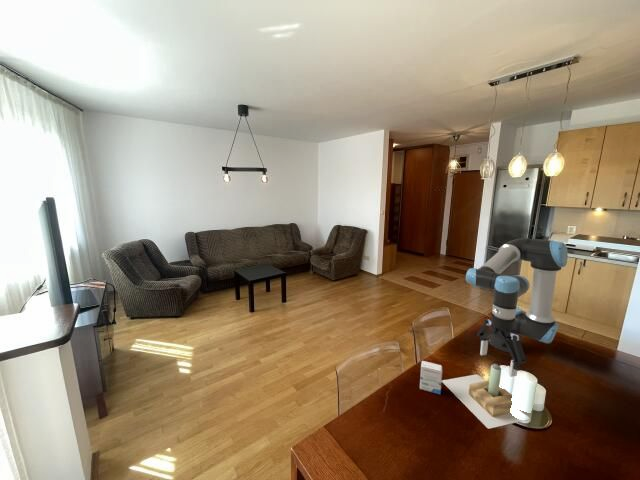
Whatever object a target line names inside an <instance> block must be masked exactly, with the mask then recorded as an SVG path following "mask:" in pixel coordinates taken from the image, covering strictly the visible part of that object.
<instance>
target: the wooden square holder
mask: <svg viewBox="0 0 640 480" xmlns="http://www.w3.org/2000/svg"><path fill="white" fill-rule="evenodd" d="M488 387H489V380H485V381H483V382H478V383H472V384H470V386H469V395H470V396H471V397H472V398H473V399H474V400H475V401H476V402H477V403H478V404H479V405H480V406H481V407H482V408H484V409H485V410H486V411H487V412H488V413H489V414H490V415H491V416H492V417H494V416H499V415H503V414H508V413H510V408H511V405H512V401H511V398H512V395H513V394H512V393H511V392H509V391H508V390H507V389H505V388H504V389H502V388H500V387H499V391H498V397H493V396H491V395H490V394H489V393H488Z"/></svg>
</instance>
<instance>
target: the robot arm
mask: <svg viewBox="0 0 640 480" xmlns="http://www.w3.org/2000/svg"><path fill="white" fill-rule="evenodd" d="M568 253H569V252H568V247H567V245H566V243H564V242H563V241H562V242H561V241H556V240H549V239H539V238H529V237H527V238H526V237H523V238H522V237H521V238H515V239H512V240H510V241H507V242H505V243H504V244H503V245H501V246H500V247H499V249H498V251H497V252H496V253H495V254H494V255H493V256H491V258H489V259H488V260H487V261H486V262H485V263H483V265H481V266H480V267H479V268H472V267H471V268H469V269H468V270H467V272H466V273H465V281H466V283H467V284H469V285H472V286H475V287H479V288H483V289H487V290H491V291H494V292H493V299H492V311H491V312H492V313H491V316H490V318H489V319H485V320H484V323H483V325H482V326H481V328H480V329H479V330H478V332H477V333H476V336H477V337H479V340H480V341H479V342H480V343H479V346H480V350H479V351H480V353H479V355H480V356H486V355H487V353H488V348H489V347H488V345H491V346H492V347H493V348H495V349H496V350H499V351H501V352H504V353H509V354H510V356H511V360H510V367H509V372H508V373H509V374H508V376H509V377H513V378H514V377H516V376H518V371H520V369H521V365H522V364H526V363H527V362H528V361H527V357H526V355H525V352H524V348H523V345H522V341H521V340H522V336H524V337H528V338H530V339H533V340H535V341H537V342H542V343H544V344H551V343H552V341H553V340H554V339H555V336H556V334H557V332H558V329H559V323H558V322H556V321H555V320H556V318H555V317H554V315H552V311H553V305H554V304H553V303H554V296H555V287H556V280H557V279H556V278H557V274H558V273H557V272H560V271H561V270H562V268H565V267H566V266H567V263H568V257H569V256H568ZM517 261H525V262H530V267H531V268H532V269H533V274H532V275H533V276H532V285H531V287H530V282H529V280H528V279H527V278H526V277H525V276H523V275H519V274H517V275H507V274H504V273H503V272H504V271H505V270H506V269H507V268H508V267H509V266H510V265H511V264H512V263H514V262H517ZM502 273H503V274H502ZM530 288H531V294H530V304H529V310H527V311H526V312H523V309H521V308H520V307H517V306H518V301H519V300H518V299H519V298H520V297H522V296H523V295H525V294H526V293H527V292H528V290H529V289H530ZM490 327H491V329H490ZM489 329H490V330H489ZM488 330H489V331H488ZM487 331H488V332H487ZM521 335H522V336H521ZM489 342H490V343H489Z"/></svg>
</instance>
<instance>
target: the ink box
mask: <svg viewBox="0 0 640 480" xmlns="http://www.w3.org/2000/svg"><path fill="white" fill-rule="evenodd" d="M419 376H420V377H419V378H420V379H419V390H424V391H427V392H430V393H434V394H438V395H441V392H442V383H443V382H442V380H443V379H442V378H443V366H442V365H441V364H437V363H434V362H430V361H429V362H428V361H427V360H426V361H425V360H421V364H420V375H419Z"/></svg>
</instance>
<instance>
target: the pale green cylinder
mask: <svg viewBox="0 0 640 480" xmlns="http://www.w3.org/2000/svg"><path fill="white" fill-rule="evenodd" d="M501 376H502V368H501V365H499V364H497V363H493V364H492V365H490V372H489V380H488V381H489V387H488V393H489V394H490V395H491V396H493V397H498V391H499V385H501V384H500V381H501Z"/></svg>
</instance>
